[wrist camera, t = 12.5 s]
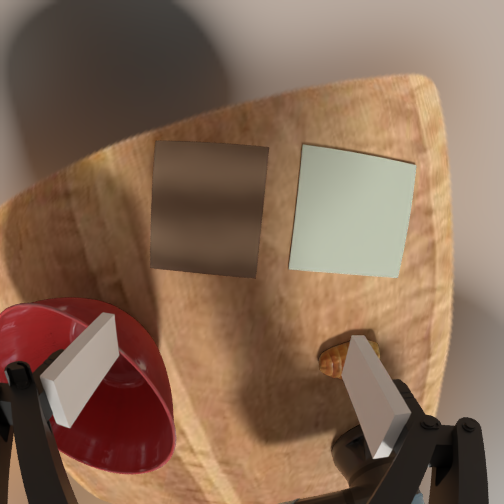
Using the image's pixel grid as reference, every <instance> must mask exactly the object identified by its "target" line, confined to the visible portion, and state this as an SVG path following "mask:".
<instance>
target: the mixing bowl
mask: <svg viewBox="0 0 504 504" xmlns="http://www.w3.org/2000/svg"><path fill="white" fill-rule="evenodd" d="M103 312H104V313H110V314H114V315H115V325H116V334H117V342H118V350H119V357H118V358H117V359H116V361H115V362H114V364H113V365H112V367H111V368H110V369H109V371H108V372H107V374H106V375H105V377H104V378H103V380H102V381H101V382H100V384H99V385H98V387H97V388H96V390H95V391H94V393H93V394H92V396H91V397H90V399H89V400H88V402H87V403H86V405H85V406H84V408H83V409H82V411H81V412H80V414H79V415H78V417H77V418H76V420H75V421H74V423H73V424H72V426H71V428H68V427H65V426H62V425H59V424H57V423H56V421H55V419H54V416H53V415H52V416H51V418H50V419H49V421H50V423H51V426H52V430H53V433H54V437H55V440H56V444H57V447H58V450H59V451H61V452H62V453H64V454H66V455H67V456H69V457H71V458H73V459H75V460H77V461H79V462H81V463H84V464H86V465H89V466H91V467H94V468H97V469H100V470H104V471H108V472H113V473H119V474H142V473H148V472H151V471H154V470H156V469H158V468H160V467H162V466H163V465H165V464H166V463H167V462H168V461H169V460H170V458H171V457H172V455H173V453H174V450H175V446H176V430H175V425H174V416H173V402H172V394H171V388H170V384H169V379H168V375H167V371H166V368H165V365H164V362H163V359H162V356H161V354H160V352H159V350H158V348H157V346H156V344H155V342H154V341H153V339H152V338H151V336H150V335H149V333H148V332H147V331H146V330H145V329H144V327H143V326H142V325H141V324H140V323H139V322H138V321H137V320H135V319H134V318H133V317H131V316H130V315H129V314H128V313H126V312H124V311H123V310H121V309H119V308H117V307H116V306H114V305H111V304H109V303H105V302H102V301H99V300H94V299H87V298H76V297H64V298H54V299H46V300H41V301H36V302H32V303H20V304H16V305H13V306H10V307H8V308H6V309H5V310H4V311H3V312H1V313H0V382H1V383H8V380H7V378H6V375H5V372H4V370H5V367H6V366H7V365H8V364H10V363H12V362H15V361H24V362H27V363H28V364H29V365H30V368H31V371H32V373H33V372H34V371H35V370H36V369H37V368H38V367H39V366H40V365H41V364H43V362H44V361H45V360H46V359H47V358H48V357H49V356H50V355H51V354H52V353H53V352H55V351H57V350H59V349H63V350H65V349H66V348H67V347H68V346H69V345H70V344H71V343H72V342H73V341H74V340H75V339H76V338H77V337H78V336H79V335H80V334H81V333H82V332H83V331H84V330H85V329H86V328H87V327H88V326H89V325H90V324H91V323H92V322H93V321H94V320H95V319H96V318H97V317H98V316H99V315H101V314H102V313H103Z"/></svg>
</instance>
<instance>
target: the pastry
mask: <svg viewBox="0 0 504 504" xmlns="http://www.w3.org/2000/svg"><path fill="white" fill-rule="evenodd" d="M368 342H369V344H370V345H371V347H372V348H373V350H374V352H375V353H376V355H377V356H378V358H379V360H380V351H379V346H378V344H377V343H376V342H374V341H370V340H368ZM349 344H350V342H346V343H344V344H341V345H337V346H334V347H332V348H329V349H328V350H326V351H325V352H323V353H322V354H321V356H320V357H319V370H320V371H321V372H322V373H323V374H325V375H328V376H331V377H332V378H339V379H341V380H343V379H342V376H341V375H342V371H343V367H344V364H345V360H346V356H347V352H348V348H349Z"/></svg>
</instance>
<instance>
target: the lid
mask: <svg viewBox="0 0 504 504" xmlns="http://www.w3.org/2000/svg"><path fill="white" fill-rule="evenodd" d="M268 153H269V147H261V146H250V145H238V144H225V143H209V142H188V141H156V143H155V154H154V168H153V184H152V204H151V242H150V268H154V269H164V270H173V271H183V272H192V273H202V274H212V275H223V276H233V277H244V278H255V279H256V272H257V262H258V253H259V243H260V233H261V223H262V213H263V203H264V193H265V183H266V173H267V163H268Z"/></svg>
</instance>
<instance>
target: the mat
mask: <svg viewBox="0 0 504 504" xmlns="http://www.w3.org/2000/svg"><path fill="white" fill-rule="evenodd" d="M415 174H416V165H413V164H408V163H404V162H400V161H395V160H390V159H386V158H381V157H376V156H371V155H365V154H360V153H354V152H349V151H343V150H337V149H331V148H324V147H317V146H310V145H303V147H302V157H301V167H300V176H299V186H298V195H297V204H296V212H295V221H294V229H293V237H292V245H291V253H290V261H289V268H288V269H291V270H303V271H315V272H327V273H339V274H352V275H365V276H378V277H391V278H398V275H399V270H400V266H401V261H402V256H403V251H404V246H405V241H406V235H407V230H408V224H409V218H410V212H411V205H412V198H413V191H414V183H415Z"/></svg>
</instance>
